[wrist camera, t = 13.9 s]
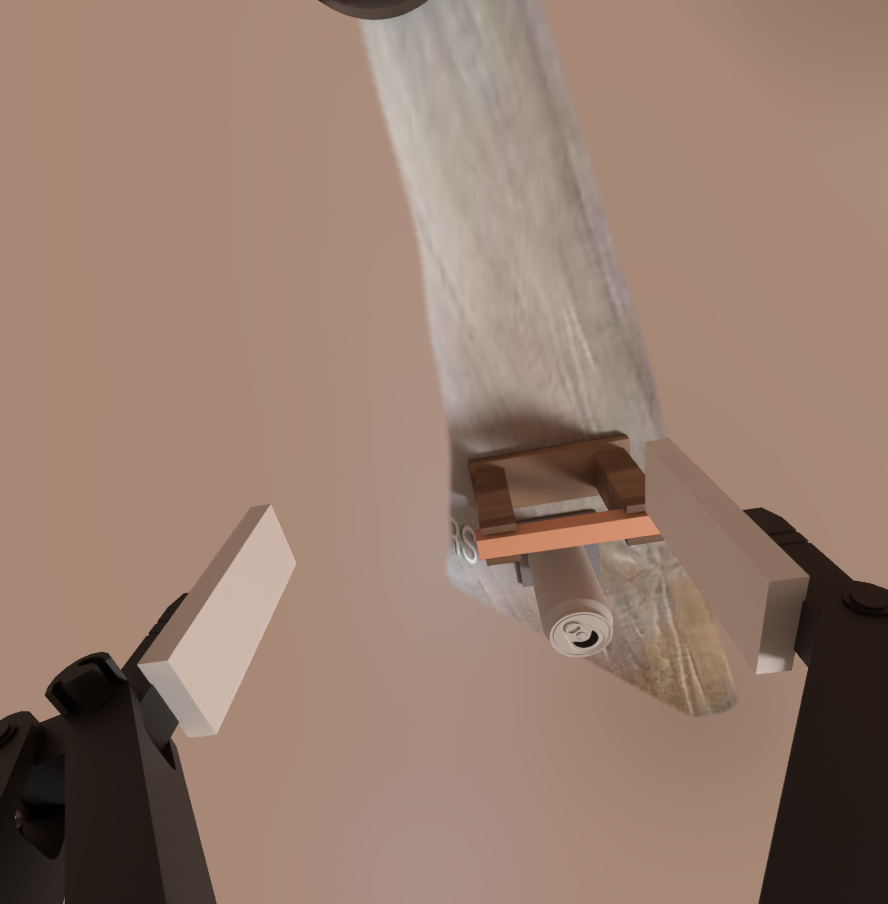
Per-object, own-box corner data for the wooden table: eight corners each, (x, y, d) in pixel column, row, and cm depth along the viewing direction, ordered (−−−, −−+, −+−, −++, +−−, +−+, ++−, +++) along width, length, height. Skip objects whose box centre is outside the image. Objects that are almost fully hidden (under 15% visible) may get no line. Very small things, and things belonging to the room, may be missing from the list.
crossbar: (475, 530, 40) (476, 541, 39) (664, 502, 38) (672, 512, 37) (479, 549, 41) (480, 559, 39) (664, 521, 39) (672, 532, 38)
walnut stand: (468, 460, 48) (472, 519, 38) (625, 434, 46) (671, 489, 36) (477, 508, 50) (483, 575, 41) (627, 485, 48) (670, 549, 39)
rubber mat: (512, 522, 51) (513, 525, 50) (594, 510, 50) (596, 512, 49) (522, 584, 55) (523, 586, 54) (598, 573, 54) (600, 576, 53)
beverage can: (549, 582, 54) (573, 671, 43) (515, 549, 52) (531, 634, 41) (594, 553, 52) (631, 638, 41) (560, 518, 50) (590, 598, 39)
